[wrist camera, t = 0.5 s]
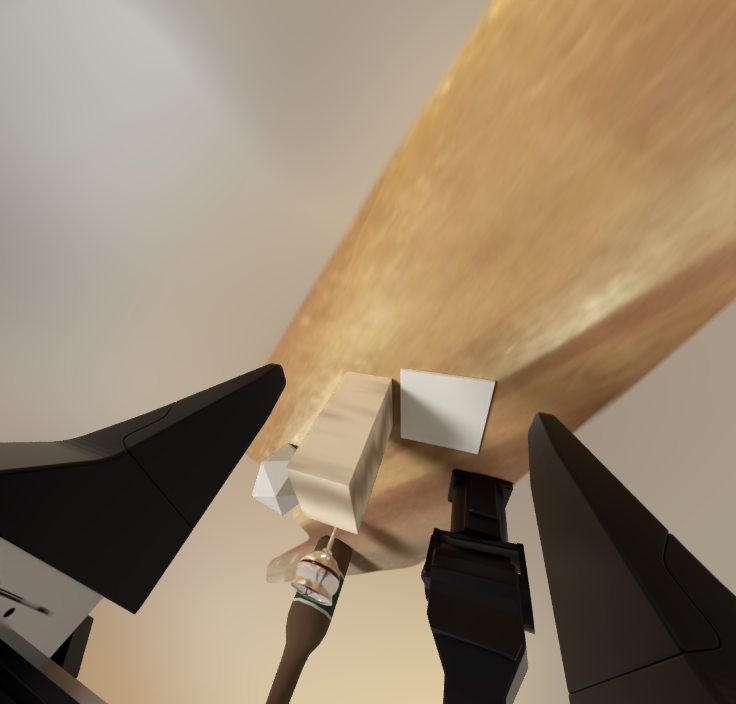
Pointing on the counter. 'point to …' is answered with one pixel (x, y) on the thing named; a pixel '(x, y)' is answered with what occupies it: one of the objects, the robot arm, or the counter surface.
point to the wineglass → (318, 575)
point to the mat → (444, 409)
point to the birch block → (344, 452)
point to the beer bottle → (306, 629)
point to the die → (276, 482)
